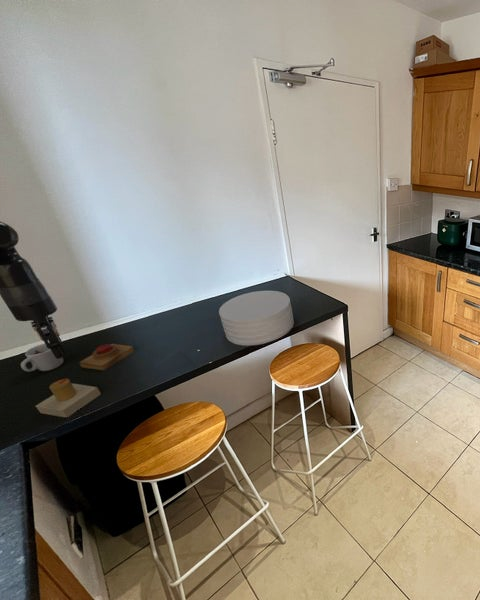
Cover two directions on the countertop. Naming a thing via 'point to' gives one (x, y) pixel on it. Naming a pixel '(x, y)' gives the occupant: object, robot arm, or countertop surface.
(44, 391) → the countertop surface
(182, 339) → the countertop surface
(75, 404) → the panel
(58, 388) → the lock knob
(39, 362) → the cup
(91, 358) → the button block
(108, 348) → the button
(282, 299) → the plate stack
